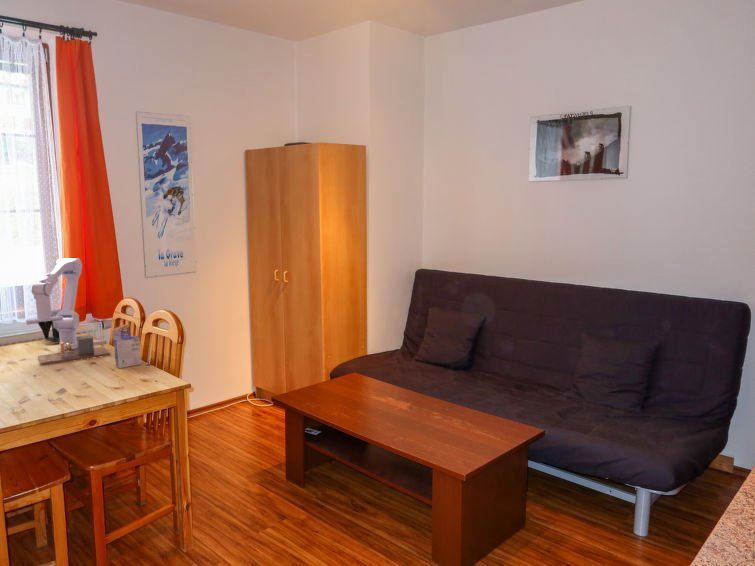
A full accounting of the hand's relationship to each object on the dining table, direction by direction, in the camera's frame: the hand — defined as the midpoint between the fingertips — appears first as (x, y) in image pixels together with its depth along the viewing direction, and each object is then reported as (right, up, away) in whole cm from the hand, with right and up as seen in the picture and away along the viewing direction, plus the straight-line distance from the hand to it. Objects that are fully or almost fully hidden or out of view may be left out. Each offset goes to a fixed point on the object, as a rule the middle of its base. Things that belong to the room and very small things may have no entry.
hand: (46, 338), depth 272 cm
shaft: (+15, -6, +5) cm, 17 cm away
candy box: (+37, -10, -3) cm, 38 cm away
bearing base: (+11, -9, +3) cm, 15 cm away
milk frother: (-12, -5, +34) cm, 37 cm away
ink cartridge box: (+42, -11, -11) cm, 45 cm away
